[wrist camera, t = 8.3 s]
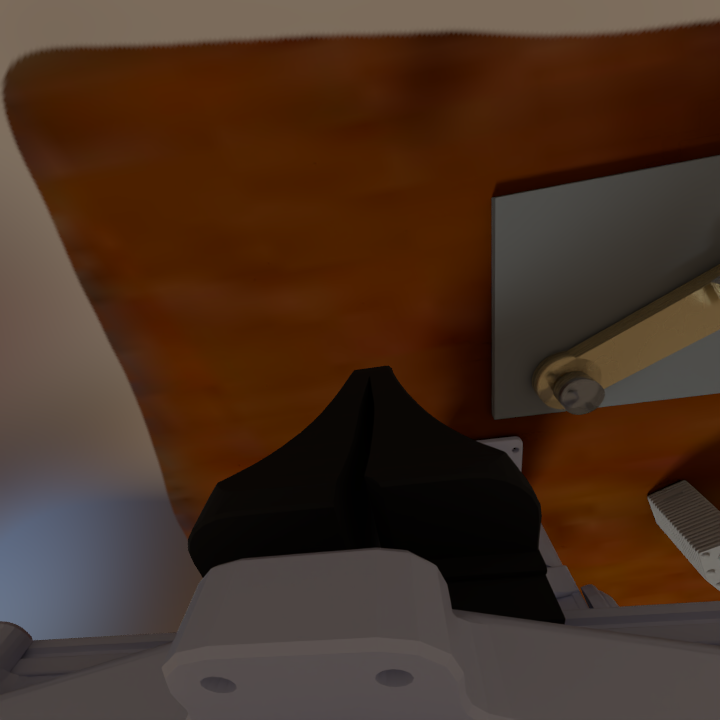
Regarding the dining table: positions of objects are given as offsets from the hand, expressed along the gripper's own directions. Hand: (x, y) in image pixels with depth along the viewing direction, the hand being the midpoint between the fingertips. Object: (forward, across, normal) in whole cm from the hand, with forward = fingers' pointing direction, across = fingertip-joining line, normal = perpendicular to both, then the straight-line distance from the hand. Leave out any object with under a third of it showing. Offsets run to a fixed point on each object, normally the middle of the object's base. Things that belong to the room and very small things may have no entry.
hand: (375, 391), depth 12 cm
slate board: (+9, -15, +2) cm, 18 cm away
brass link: (+9, -15, +4) cm, 17 cm away
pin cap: (+7, -11, +6) cm, 14 cm away
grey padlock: (+10, -22, +21) cm, 32 cm away
